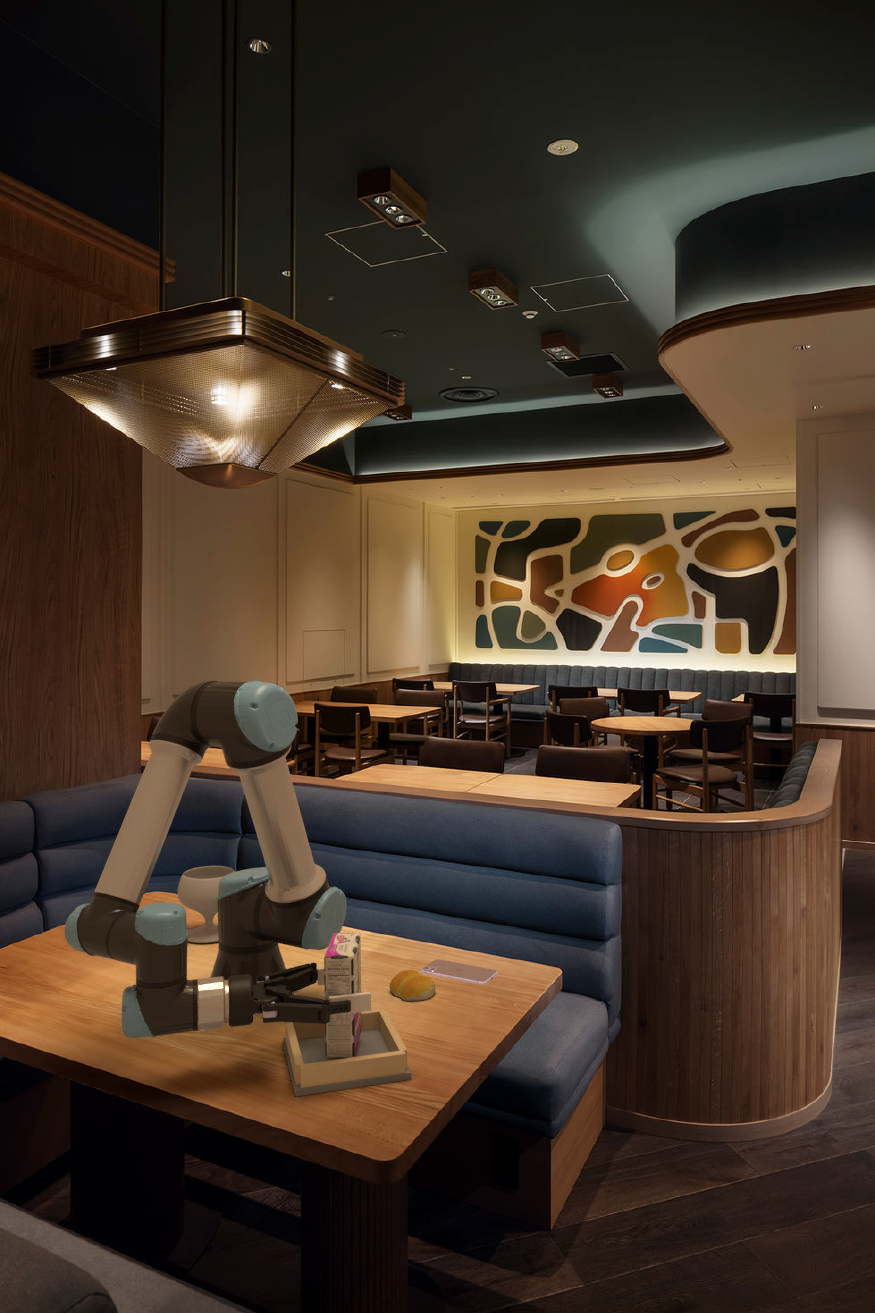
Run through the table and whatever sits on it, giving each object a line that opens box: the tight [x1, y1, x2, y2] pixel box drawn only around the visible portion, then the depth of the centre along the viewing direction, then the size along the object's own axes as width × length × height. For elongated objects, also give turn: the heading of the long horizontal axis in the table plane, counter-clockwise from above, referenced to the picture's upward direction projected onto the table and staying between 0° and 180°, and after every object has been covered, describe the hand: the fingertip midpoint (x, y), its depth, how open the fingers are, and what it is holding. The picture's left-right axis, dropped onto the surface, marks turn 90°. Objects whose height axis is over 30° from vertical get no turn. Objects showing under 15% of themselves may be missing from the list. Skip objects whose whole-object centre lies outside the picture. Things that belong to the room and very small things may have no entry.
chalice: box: [177, 865, 236, 944], centre depth 199 cm, size 14×14×15 cm
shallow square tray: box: [282, 1008, 412, 1097], centre depth 139 cm, size 18×18×4 cm
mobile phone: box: [420, 958, 498, 985], centre depth 176 cm, size 8×1×15 cm
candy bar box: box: [323, 932, 362, 1059], centre depth 139 cm, size 11×5×16 cm, turn 179°
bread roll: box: [389, 969, 436, 1002], centre depth 166 cm, size 8×9×4 cm
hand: (363, 986), depth 140 cm, fingers closed on candy bar box, 12 cm apart
